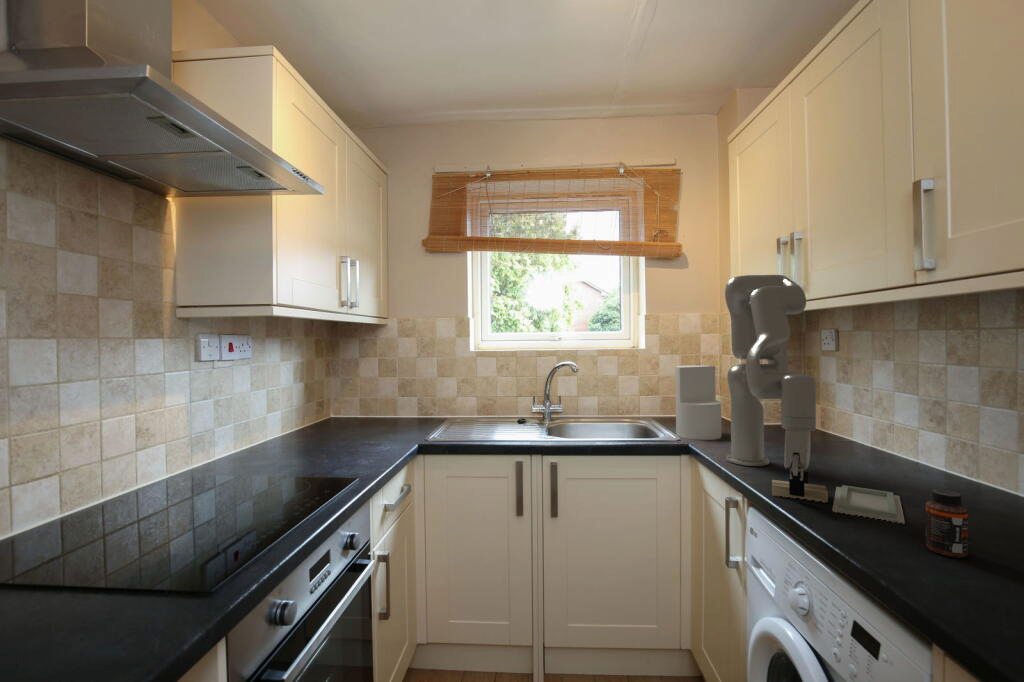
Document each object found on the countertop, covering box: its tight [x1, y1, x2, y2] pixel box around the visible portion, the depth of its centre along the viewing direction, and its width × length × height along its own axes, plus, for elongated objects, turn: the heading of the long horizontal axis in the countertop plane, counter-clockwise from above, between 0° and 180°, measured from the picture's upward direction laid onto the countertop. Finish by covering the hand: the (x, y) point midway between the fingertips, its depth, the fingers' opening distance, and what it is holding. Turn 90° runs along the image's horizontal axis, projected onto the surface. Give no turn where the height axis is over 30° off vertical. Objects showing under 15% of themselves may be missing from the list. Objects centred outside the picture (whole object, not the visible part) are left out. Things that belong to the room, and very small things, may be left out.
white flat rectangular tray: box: [832, 484, 906, 525], centre depth 115 cm, size 20×13×2 cm, turn 143°
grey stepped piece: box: [675, 364, 722, 441], centre depth 194 cm, size 17×17×28 cm
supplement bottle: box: [925, 489, 969, 559], centre depth 90 cm, size 6×6×11 cm
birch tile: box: [771, 479, 829, 503], centre depth 121 cm, size 5×12×3 cm, turn 62°
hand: (798, 490), depth 121 cm, fingers open, 8 cm apart
